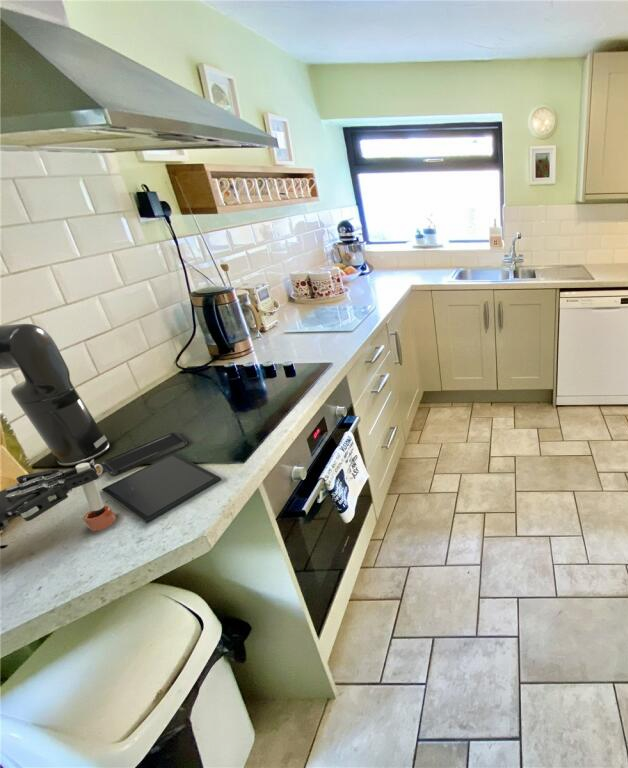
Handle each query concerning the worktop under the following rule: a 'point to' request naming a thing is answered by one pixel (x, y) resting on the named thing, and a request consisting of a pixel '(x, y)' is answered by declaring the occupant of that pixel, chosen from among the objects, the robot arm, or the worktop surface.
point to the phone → (143, 454)
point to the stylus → (91, 491)
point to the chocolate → (98, 468)
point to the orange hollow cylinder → (99, 519)
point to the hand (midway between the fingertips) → (94, 470)
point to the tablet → (160, 487)
